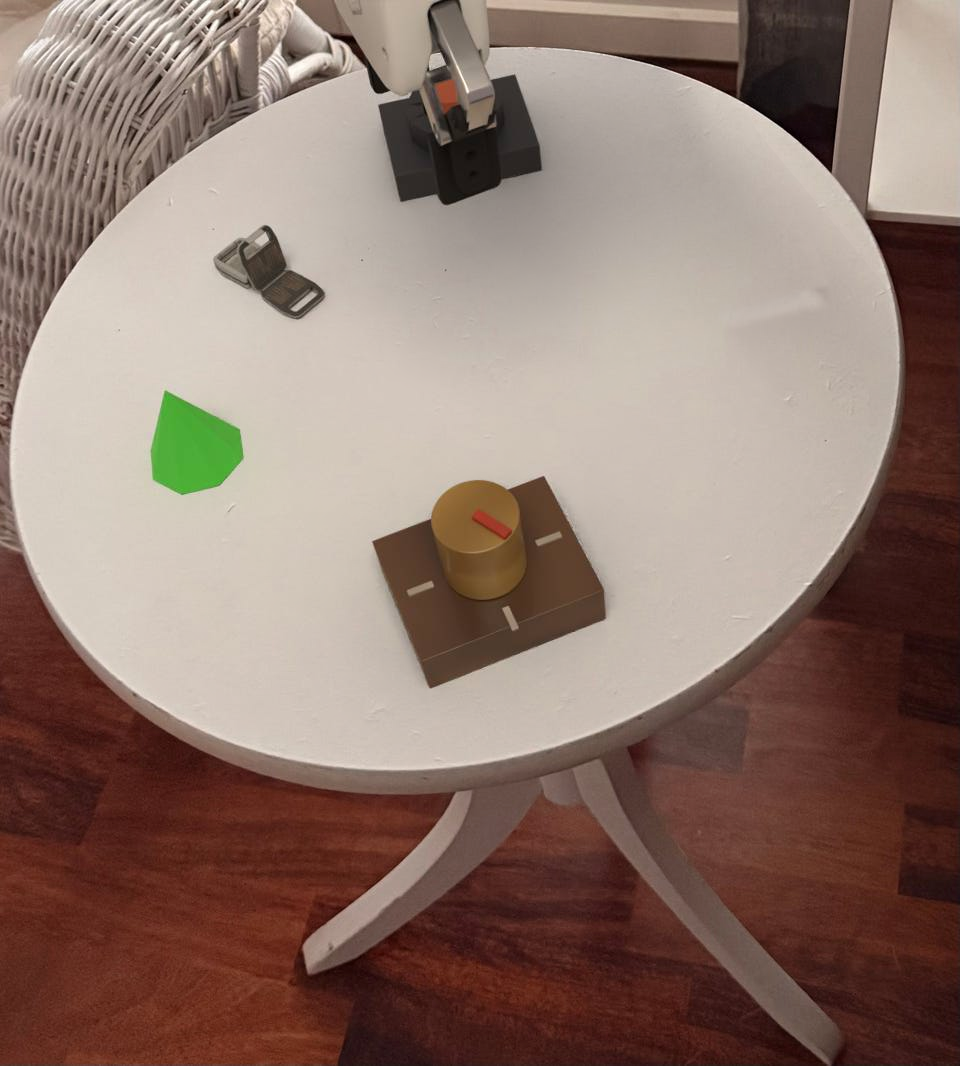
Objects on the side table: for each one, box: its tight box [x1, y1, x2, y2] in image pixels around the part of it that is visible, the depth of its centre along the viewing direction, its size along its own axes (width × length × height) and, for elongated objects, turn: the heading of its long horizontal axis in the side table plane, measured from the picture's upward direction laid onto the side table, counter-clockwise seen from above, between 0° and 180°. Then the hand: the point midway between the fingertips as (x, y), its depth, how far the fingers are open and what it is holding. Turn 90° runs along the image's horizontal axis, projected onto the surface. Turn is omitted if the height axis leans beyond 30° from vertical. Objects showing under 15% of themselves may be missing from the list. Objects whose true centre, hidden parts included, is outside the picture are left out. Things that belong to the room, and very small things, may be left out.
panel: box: [371, 475, 607, 689], centre depth 66 cm, size 10×9×3 cm
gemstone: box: [150, 389, 244, 495], centre depth 73 cm, size 6×6×6 cm
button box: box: [377, 73, 543, 202], centre depth 86 cm, size 10×8×4 cm
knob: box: [430, 479, 527, 600], centre depth 63 cm, size 4×4×5 cm
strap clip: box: [212, 224, 325, 319], centre depth 81 cm, size 8×3×4 cm, turn 48°
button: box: [435, 79, 458, 114], centre depth 84 cm, size 4×4×2 cm
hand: (434, 135), depth 64 cm, fingers open, 9 cm apart
